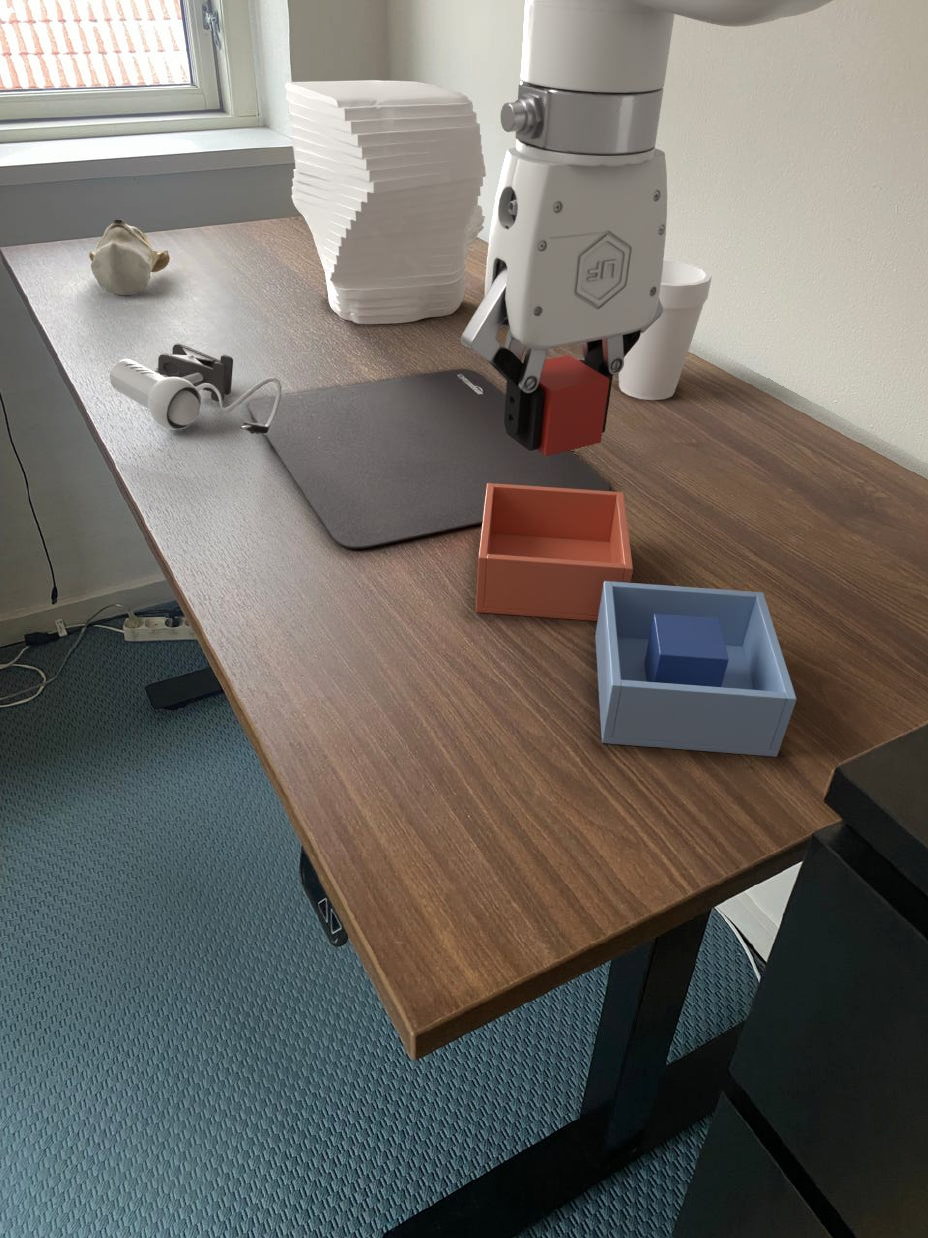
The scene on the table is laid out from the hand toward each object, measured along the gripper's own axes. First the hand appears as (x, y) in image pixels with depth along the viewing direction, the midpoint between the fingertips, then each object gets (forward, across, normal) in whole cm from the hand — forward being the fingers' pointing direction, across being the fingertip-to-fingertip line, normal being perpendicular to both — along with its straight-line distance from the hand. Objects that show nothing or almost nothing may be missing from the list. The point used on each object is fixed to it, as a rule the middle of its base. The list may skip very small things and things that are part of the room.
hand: (555, 430), depth 61 cm
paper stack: (+16, +23, +64) cm, 70 cm away
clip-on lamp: (+15, -11, +44) cm, 48 cm away
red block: (0, 0, 0) cm, 0 cm away
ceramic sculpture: (+16, -7, +89) cm, 91 cm away
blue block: (+15, +4, -12) cm, 19 cm away
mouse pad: (+15, +5, +29) cm, 33 cm away
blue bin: (+15, +4, -12) cm, 20 cm away
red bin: (+15, +4, +4) cm, 16 cm away
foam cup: (+16, +35, +30) cm, 49 cm away
